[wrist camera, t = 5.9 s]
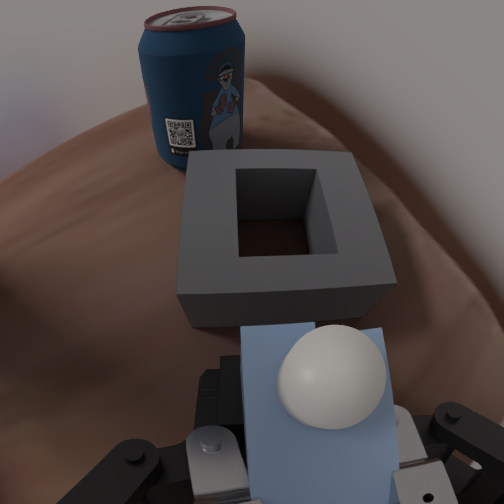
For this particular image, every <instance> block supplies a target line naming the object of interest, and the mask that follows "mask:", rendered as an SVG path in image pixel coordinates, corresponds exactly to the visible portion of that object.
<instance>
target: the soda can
mask: <svg viewBox="0 0 504 504" xmlns="http://www.w3.org/2000/svg"><path fill="white" fill-rule="evenodd" d="M144 27H145V30H144V32H143V35H142V37H141V40H140V43H139V46H138V52H139V58H140V64H141V70H142V76H143V82H144V87H145V92H146V98H147V103H148V108H149V113H150V118H151V123H152V127H153V132H154V137H155V141H156V146H157V150H158V153H159V154H160V156H161V157H162V158H163V159H164V160H165V161H166V162H167V163H168V164H170V165H171V166H172V167H174V168H175V169H177V170H179V171H181V172H184V173H186V172H187V164H188V156H189V151H202V150H228V149H239V148H240V146H241V144H242V135H243V92H244V56H245V34H244V32H243V30H242V29H241V27H240V25H239V23H238V21H237V20H236V12H235V11H234V10H233V9H230V8H225V7H218V6H196V7H186V8H179V9H174V10H170V11H165V12H162V13H158V14H156V15H153V16H151V17H149V18H148V19H146V21H145V22H144Z"/></svg>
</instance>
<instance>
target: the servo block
mask: <svg viewBox="0 0 504 504" xmlns="http://www.w3.org/2000/svg"><path fill="white" fill-rule="evenodd" d="M240 332H241V359H240V374H241V389H242V403H243V417H244V433H245V453H246V468H245V469H246V471H247V474H248V478H249V489H250V496H251V498H254V497H259V498H260V501H261V503H262V504H388V502H389V493H390V484H391V473H392V471H394V470H398V469H399V453H398V440H397V428H396V418H395V409H394V401H393V393H392V386H391V379H390V372H389V366H388V360H387V354H386V348H385V343H384V337H383V332H382V327H381V328H374V329H366V330H357V329H354V328H352V327H349V326H344V325H327V326H322V327H319V328H316V329H315V322H307V323H294V324H279V325H260V326H240Z"/></svg>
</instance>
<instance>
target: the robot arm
mask: <svg viewBox="0 0 504 504" xmlns="http://www.w3.org/2000/svg"><path fill="white" fill-rule="evenodd" d="M394 409H395V418H396V428H397V440H398V453H399V469H398V470H394V471H392V473H391V484H390V493H389V502H388V504H504V427H502V426H500V425H498V424H496V423H494V422H492V421H491V420H489V419H487V418H485V417H483V416H481V415H479V414H478V413H476V412H474V411H472V410H470V409H468V408H467V407H465V406H463V405H461V404H458V403H454V402H447V403H443V404H441V405H439V406H438V407H437V408H436V410H435V412H434V414H433V415H425V416H411V415H410V413H409V412H408V411H407V410H406V409H404V408H403V407H401V406H398V405H394ZM454 449H456V450H457V451H459V452H461V453H462V454H464V455H466V456H467V457H469V458H471V459H472V460H474V461H476V462H477V463H479V464H480V465H481V466H482V469H480V470H477V469H474V468H472V467H471V466H469V465H467V464H466V463H464V462H462V461H461V460H459V459H458V458H456V457H454V456H453V455H451V454H452V452H453V451H454ZM245 468H246V453H245V433H244V417H243V403H242V389H241V374H240V355H236V356H220V369H206V371H205V372H204V373H203V375H202V376H201V377H200V380H199V390H198V398H197V405H196V414H195V423H194V430H193V431H192V432H191V433H190V434H189V436H188V437H187V439H186V440H185V441H183V442H182V443H179V444H177V445H173V446H168V447H163V448H156V447H155V446H154V445H153V444H152V443H150V442H149V441H146V440H142V439H129V440H125V441H123V442H121V443H119V444H118V445H117V446H115V447H114V448H113V449H112V450H111V451H110V452H109V453H108V454H107V455H106V456H105V457H104V458H103V459H102V460H101V461H100V462H99V463H98V464H97V465H96V466H95V467H94V468H93V469H92V470H91V471H90V472H89V473H88V474H87V475H86V476H85V477H84V478H83V479H82V480H81V481H80V482H79V483H78V484H77V485H76V486H75V487H74V488H72V489H71V490H70V491H69V492H68V493H67V494H66V495H65V496H64V497H63V498H62V499H61V500H60V501H59V502H58V503H56V504H262V503H261V501H260V498H259V497H254V498H251V496H250V489H249V478H248V474H247V471H246V469H245Z"/></svg>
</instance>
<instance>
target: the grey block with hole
mask: <svg viewBox="0 0 504 504" xmlns="http://www.w3.org/2000/svg"><path fill="white" fill-rule="evenodd" d="M284 219H303V224H304V229H305V234H306V240H307V245H308V251H309V255H285V256H256V257H239V248H238V225H237V221H240V220H284ZM396 284H397V280H396V276H395V273H394V269H393V266H392V263H391V259H390V256H389V253H388V249H387V246H386V243H385V240H384V237H383V234H382V231H381V228H380V225H379V222H378V219H377V216H376V213H375V211H374V208H373V205H372V202H371V200H370V197H369V194H368V192H367V189H366V186H365V184H364V181H363V179H362V176H361V174H360V171H359V169H358V166H357V164H356V162H355V159H354V157H353V155H352V152H339V151H322V150H296V149H228V150H202V151H189V156H188V164H187V172H186V180H185V189H184V198H183V208H182V218H181V229H180V241H179V255H178V270H177V287H176V295H177V297H178V299H179V301H180V304H181V306H182V308H183V310H184V312H185V314H186V316H187V318H188V320H189V322H190V324H191V326H192V327H235V326H258V325H276V324H292V323H305V322H317V321H329V320H339V319H349V318H358V317H363V316H364V315H365V314H366V313H367V312H368V311H369V310H370V309H371V308H372V307H373V306H374V305H375V304H376V303H377V302H378V301H380V300H381V299H382V298H383V297H384V296H385V295H386V294H387V293H388V292H389V291H390V290H391V289H392V288H393V287H394V286H395V285H396Z"/></svg>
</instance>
